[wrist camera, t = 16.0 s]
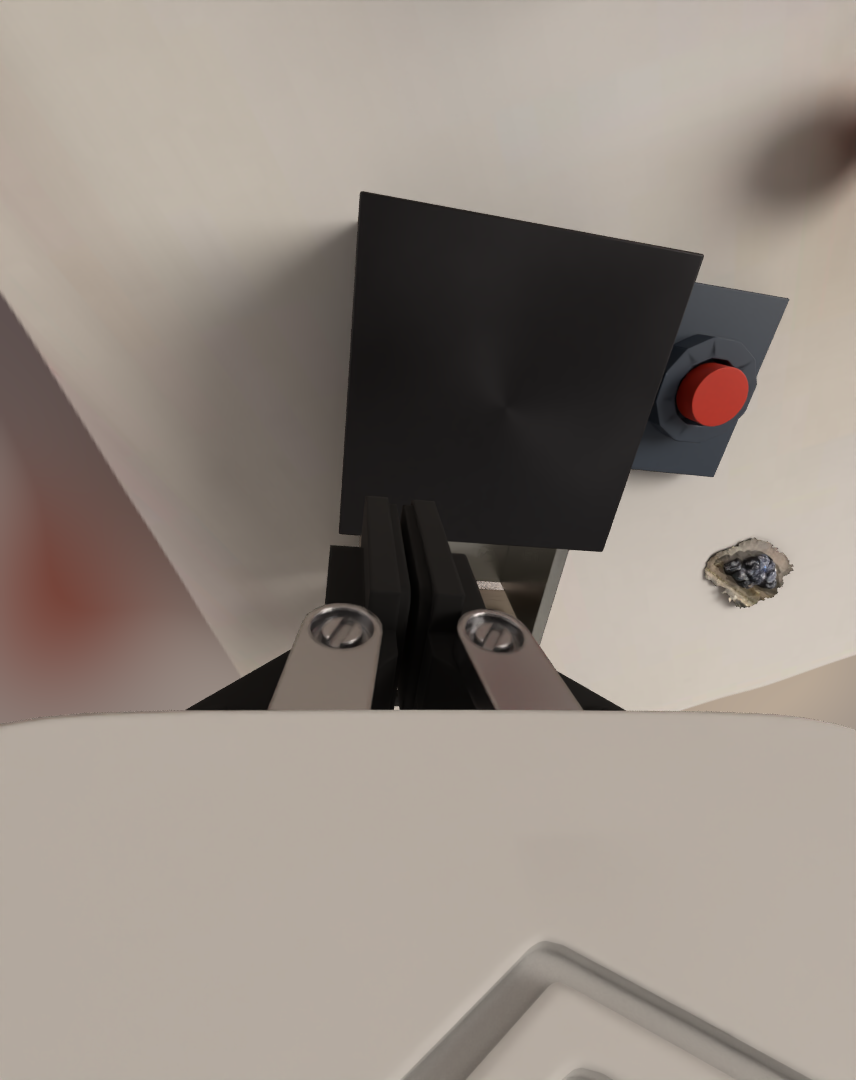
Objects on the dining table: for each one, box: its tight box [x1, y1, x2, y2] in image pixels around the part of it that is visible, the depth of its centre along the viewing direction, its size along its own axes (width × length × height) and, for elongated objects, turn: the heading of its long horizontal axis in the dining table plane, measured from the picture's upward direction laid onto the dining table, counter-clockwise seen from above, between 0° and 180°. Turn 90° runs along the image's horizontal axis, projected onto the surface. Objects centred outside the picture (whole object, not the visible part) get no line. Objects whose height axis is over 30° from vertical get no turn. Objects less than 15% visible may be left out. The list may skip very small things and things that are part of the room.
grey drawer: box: [359, 535, 569, 706], centre depth 34 cm, size 20×14×9 cm
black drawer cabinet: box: [339, 191, 704, 552], centre depth 28 cm, size 15×15×11 cm
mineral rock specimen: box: [705, 538, 793, 609], centre depth 43 cm, size 7×8×2 cm
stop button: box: [676, 363, 748, 426], centre depth 31 cm, size 4×4×2 cm
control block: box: [631, 282, 789, 477], centre depth 33 cm, size 12×9×4 cm
